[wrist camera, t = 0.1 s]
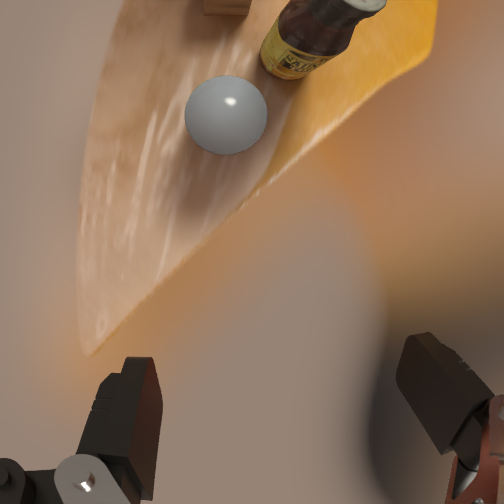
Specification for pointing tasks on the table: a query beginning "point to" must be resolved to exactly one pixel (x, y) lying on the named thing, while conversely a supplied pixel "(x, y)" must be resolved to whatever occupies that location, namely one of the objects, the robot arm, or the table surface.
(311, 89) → the table surface
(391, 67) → the table surface
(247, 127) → the grey rounded cylinder
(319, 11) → the sauce bottle
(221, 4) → the walnut block
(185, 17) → the table surface
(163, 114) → the table surface
